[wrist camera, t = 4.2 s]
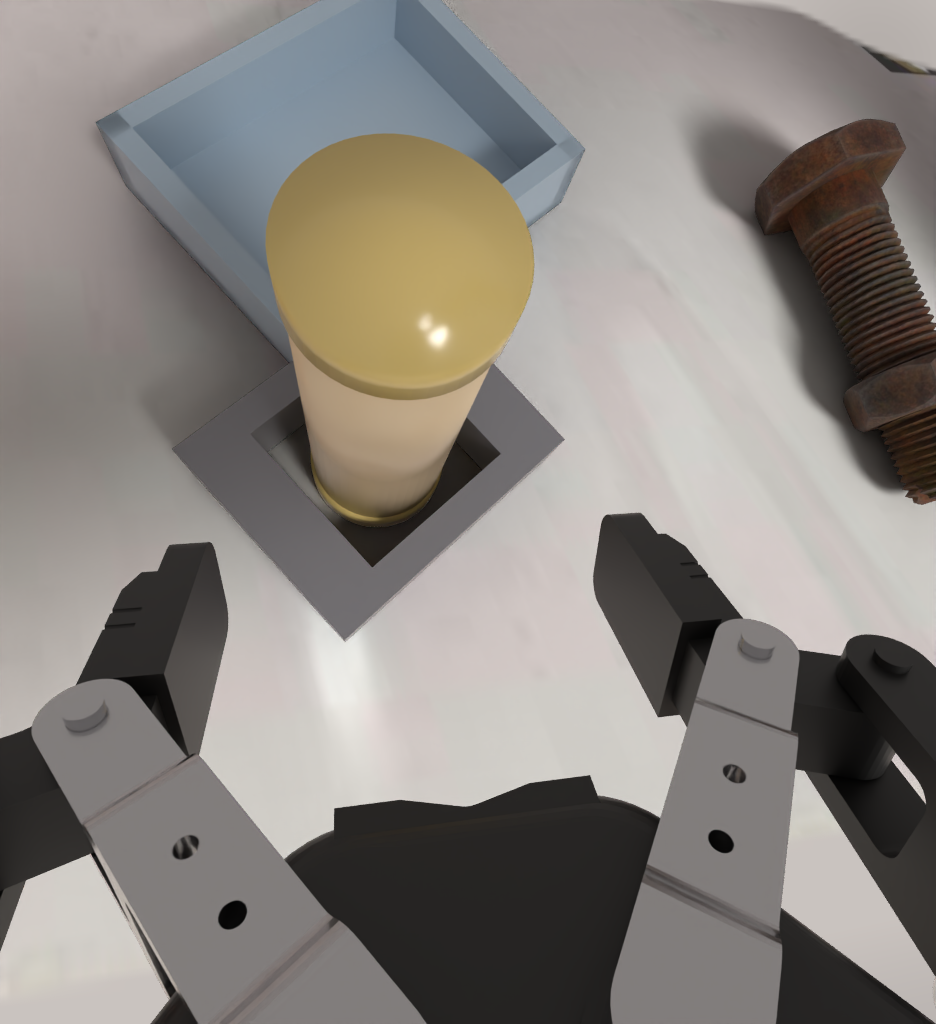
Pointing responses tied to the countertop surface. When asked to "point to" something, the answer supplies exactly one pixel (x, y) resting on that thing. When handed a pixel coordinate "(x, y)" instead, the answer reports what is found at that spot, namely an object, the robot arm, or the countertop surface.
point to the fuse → (393, 309)
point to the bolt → (865, 285)
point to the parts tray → (324, 128)
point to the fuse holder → (306, 530)
